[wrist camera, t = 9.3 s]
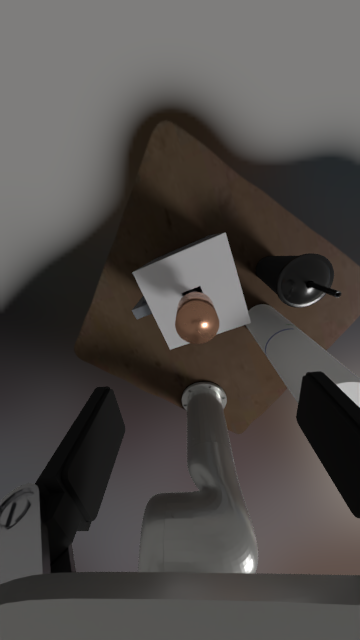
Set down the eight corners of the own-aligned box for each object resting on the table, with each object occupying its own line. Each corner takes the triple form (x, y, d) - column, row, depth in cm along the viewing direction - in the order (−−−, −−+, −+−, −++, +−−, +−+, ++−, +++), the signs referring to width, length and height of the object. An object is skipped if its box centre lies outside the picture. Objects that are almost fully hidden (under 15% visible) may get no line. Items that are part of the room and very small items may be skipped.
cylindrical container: (244, 306, 43) (310, 386, 20) (276, 301, 42) (384, 378, 19) (245, 334, 45) (304, 432, 22) (276, 330, 45) (369, 427, 22)
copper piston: (205, 246, 36) (231, 256, 15) (219, 289, 39) (258, 349, 18) (162, 264, 37) (130, 297, 16) (179, 304, 41) (171, 376, 19)
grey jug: (209, 235, 37) (225, 232, 21) (226, 290, 41) (251, 322, 25) (138, 265, 40) (106, 283, 24) (161, 314, 44) (147, 357, 28)
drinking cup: (268, 240, 37) (347, 242, 19) (294, 264, 39) (391, 287, 20) (241, 272, 40) (287, 300, 21) (266, 293, 41) (330, 337, 23)
